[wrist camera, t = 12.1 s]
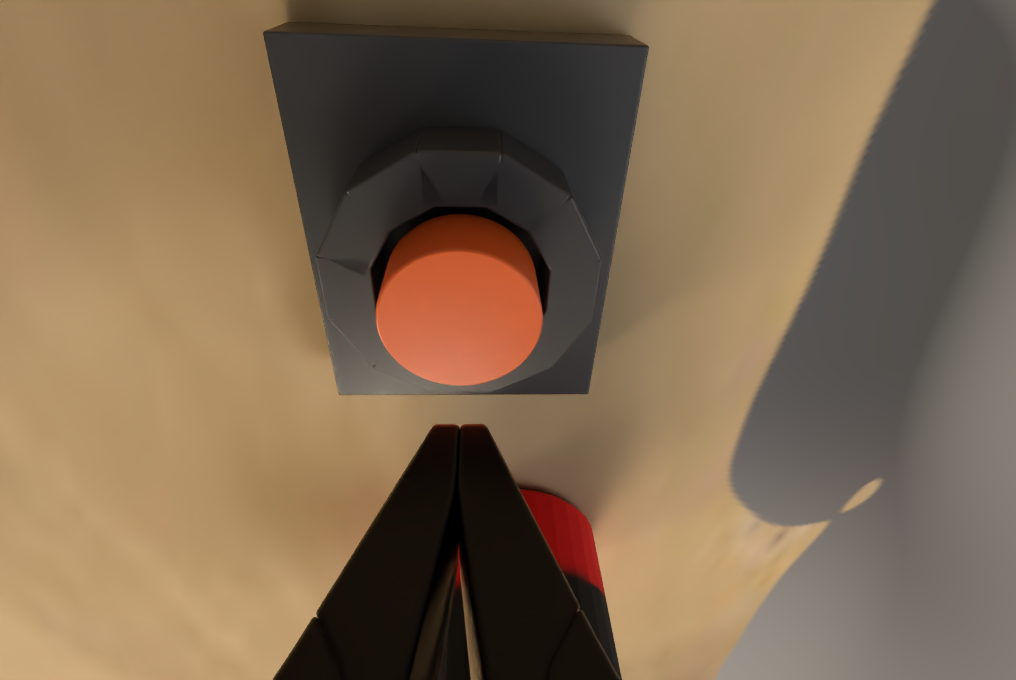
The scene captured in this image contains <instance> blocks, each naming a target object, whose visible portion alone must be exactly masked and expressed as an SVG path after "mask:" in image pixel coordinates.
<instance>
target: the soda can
mask: <svg viewBox="0 0 1016 680" xmlns="http://www.w3.org/2000/svg"><path fill="white" fill-rule="evenodd" d="M520 491H521V493H522V495H523V497H524V499H525V501H526V503H527V505H528V507H529V509H530V511H531V513H532V514H533V516H534V518H535V520H536V522H537V524H538V526H539V528H540V530H541V532H542V534H543V536H544V538H545V539H546V541H547V543H548V545H549V547H550V549H551V551H552V553H553V555H554V557H555V559H556V561H557V563H558V564H559V566H560V568H561V570H562V572H563V574H564V576H565V578H566V580H567V582H568V584H569V586H570V588H571V589H572V591H573V593H574V595H575V597H576V599H577V601H578V603H579V605H580V608H579V610H582V611H583V612H584V614H585V616H586V618H587V620H588V622H589V624H590V625H591V627H592V629H593V631H594V633H595V635H596V637H597V639H598V641H599V642H600V644H601V646H602V648H603V650H604V651H605V653H606V655H607V657H608V658H609V660H610V662H611V664H612V666H613V667H614V669H615V671H616V673H617V675H618V676H619V678H620V680H622V678H621V673H620V668H619V663H618V658H617V653H616V648H615V643H614V638H613V633H612V628H611V623H610V618H609V613H608V608H607V603H606V598H605V592H604V587H603V582H602V577H601V572H600V567H599V562H598V557H597V552H596V547H595V542H594V537H593V532H592V528H591V525H590V523H589V522H588V520H587V518H586V517H585V516H584V515H583V514H582V513H581V512H580V511H579V510H578V509H576V508H575V507H574V506H572V505H571V504H569V503H568V502H566V501H564V500H562V499H561V498H559V497H556V496H553V495H550V494H548V493H544V492H539V491H534V490H522V489H520ZM442 680H471V677H470V667H469V657H468V647H467V637H466V627H465V617H464V607H463V597H462V587H461V577H460V563H459V553H458V566H457V575H456V582H455V589H454V596H453V603H452V610H451V617H450V624H449V631H448V639H447V646H446V653H445V660H444V667H443V674H442Z"/></svg>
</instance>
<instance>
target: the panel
mask: <svg viewBox="0 0 1016 680" xmlns="http://www.w3.org/2000/svg"><path fill="white" fill-rule="evenodd" d="M263 35H264V40H265V44H266V49H267V54H268V59H269V64H270V68H271V73H272V78H273V83H274V87H275V92H276V97H277V102H278V107H279V111H280V116H281V121H282V126H283V130H284V135H285V140H286V145H287V149H288V154H289V159H290V164H291V169H292V173H293V178H294V183H295V188H296V192H297V197H298V202H299V207H300V212H301V216H302V221H303V226H304V231H305V235H306V240H307V245H308V250H309V255H310V259H311V264H312V269H313V274H314V278H315V283H316V288H317V293H318V298H319V302H320V307H321V312H322V317H323V321H324V326H325V331H326V336H327V340H328V345H329V350H330V355H331V360H332V364H333V369H334V374H335V379H336V383H337V388H338V393H339V395H472V394H588V391H589V386H590V380H591V374H592V369H593V363H594V357H595V351H596V346H597V340H598V334H599V329H600V323H601V317H602V312H603V306H604V300H605V294H606V289H607V283H608V277H609V272H610V266H611V260H612V255H613V249H614V243H615V238H616V232H617V226H618V220H619V215H620V209H621V203H622V198H623V192H624V186H625V181H626V175H627V169H628V164H629V158H630V152H631V146H632V141H633V135H634V129H635V124H636V118H637V112H638V107H639V101H640V95H641V89H642V84H643V78H644V72H645V67H646V61H647V55H648V50H649V47H648V46H647V45H646V44H644V43H642V42H640V41H639V40H637V39H635V38H633V37H631V36H630V35H609V34H584V33H558V32H532V31H506V30H480V29H455V28H429V27H403V26H377V25H351V24H326V23H300V22H287V23H284V24H282V25H279V26H277V27H274V28H271V29H269V30H266V31H264V32H263ZM449 214H468V215H475V216H480V217H484V218H487V219H490V220H492V221H494V222H496V223H498V224H501V225H502V226H504V227H505V228H507V229H508V230H510V231H511V232H512V233H513V234H514V235H516V236H517V237H518V238H519V239H520V241H521V242H522V243H523V244H524V246H525V247H526V249H527V250H528V252H529V254H530V256H531V258H532V260H533V263H534V267H535V271H536V277H537V282H538V288H539V294H540V299H541V305H542V312H543V324H542V330H541V334H540V337H539V340H538V342H537V344H536V346H535V348H534V349H533V351H532V352H531V354H530V355H529V356H528V357H527V359H526V360H525V361H524V362H523V363H522V364H521V365H519V366H518V367H517V368H516V369H514V370H513V371H511V372H510V373H508V374H506V375H504V376H502V377H500V378H498V379H495V380H492V381H490V382H486V383H482V384H476V385H466V386H457V385H446V384H440V383H436V382H432V381H429V380H427V379H424V378H421V377H419V376H417V375H415V374H413V373H412V372H410V371H408V370H407V369H405V368H404V367H403V366H402V365H400V364H399V363H398V362H397V361H396V360H395V359H394V358H393V357H392V356H391V355H390V353H389V352H388V351H387V349H386V348H385V346H384V344H383V342H382V341H381V338H380V336H379V333H378V330H377V325H376V316H375V311H376V303H377V300H378V296H379V292H380V289H381V285H382V282H383V278H384V275H385V271H386V268H387V264H388V261H389V258H390V255H391V253H392V251H393V249H394V248H395V246H396V245H397V243H398V242H399V241H400V239H401V238H402V237H403V236H404V235H405V234H406V233H407V232H409V231H410V230H411V229H412V228H414V227H415V226H417V225H419V224H420V223H422V222H425V221H427V220H429V219H432V218H435V217H439V216H444V215H449Z"/></svg>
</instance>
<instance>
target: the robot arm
mask: <svg viewBox="0 0 1016 680" xmlns="http://www.w3.org/2000/svg"><path fill="white" fill-rule="evenodd" d="M458 553H459V563H460V577H461V587H462V597H463V607H464V617H465V627H466V637H467V647H468V657H469V667H470V677H471V680H620V678H619V676H618V675H617V673H616V671H615V669H614V667H613V666H612V664H611V662H610V660H609V658H608V657H607V655H606V653H605V651H604V650H603V648H602V646H601V644H600V642H599V641H598V639H597V637H596V635H595V633H594V631H593V629H592V627H591V625H590V624H589V622H588V620H587V618H586V616H585V614H584V612H583V611H582V610H579V608H580V605H579V603H578V601H577V599H576V597H575V595H574V593H573V591H572V589H571V588H570V586H569V584H568V582H567V580H566V578H565V576H564V574H563V572H562V570H561V568H560V566H559V564H558V563H557V561H556V559H555V557H554V555H553V553H552V551H551V549H550V547H549V545H548V543H547V541H546V539H545V538H544V536H543V534H542V532H541V530H540V528H539V526H538V524H537V522H536V520H535V518H534V516H533V514H532V513H531V511H530V509H529V507H528V505H527V503H526V501H525V499H524V497H523V495H522V493H521V491H520V489H519V487H518V486H517V484H516V482H515V480H514V478H513V476H512V474H511V472H510V470H509V468H508V466H507V464H506V462H505V461H504V459H503V457H502V455H501V453H500V451H499V449H498V447H497V445H496V443H495V441H494V439H493V437H492V436H491V434H490V432H489V430H488V428H487V427H486V426H485V425H483V424H464V425H462V426H461V427H460V428H459V426H458V425H455V424H438V425H435V426H433V427H432V429H431V430H430V432H429V433H428V435H427V436H426V438H425V440H424V441H423V443H422V444H421V446H420V448H419V449H418V451H417V452H416V454H415V455H414V457H413V459H412V460H411V462H410V463H409V465H408V467H407V468H406V470H405V471H404V473H403V475H402V476H401V478H400V479H399V481H398V483H397V484H396V486H395V487H394V489H393V491H392V492H391V494H390V495H389V497H388V499H387V500H386V502H385V503H384V505H383V507H382V508H381V510H380V511H379V513H378V515H377V516H376V518H375V519H374V521H373V523H372V524H371V526H370V527H369V529H368V531H367V532H366V534H365V535H364V537H363V539H362V540H361V542H360V543H359V545H358V546H357V548H356V550H355V551H354V553H353V554H352V556H351V558H350V559H349V561H348V562H347V564H346V566H345V567H344V569H343V570H342V572H341V574H340V575H339V577H338V578H337V580H336V582H335V583H334V585H333V586H332V588H331V590H330V591H329V593H328V594H327V596H326V598H325V599H324V601H323V602H322V604H321V606H320V607H319V609H318V610H317V613H316V614H317V617H318V618H317V617H314V618H312V619H311V621H310V623H309V624H308V626H307V627H306V629H305V631H304V632H303V634H302V635H301V637H300V639H299V640H298V642H297V643H296V645H295V647H294V648H293V650H292V651H291V653H290V654H289V656H288V657H287V659H286V660H285V662H284V663H283V665H282V666H281V668H280V669H279V671H278V672H277V674H276V675H275V677H274V678H273V680H442V674H443V667H444V660H445V653H446V646H447V639H448V631H449V624H450V617H451V610H452V603H453V596H454V589H455V582H456V575H457V566H458Z"/></svg>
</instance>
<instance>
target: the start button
mask: <svg viewBox="0 0 1016 680" xmlns="http://www.w3.org/2000/svg"><path fill="white" fill-rule="evenodd" d="M375 316H376V325H377V330H378V333H379V336H380V338H381V341H382V342H383V344H384V346H385V348H386V349H387V351H388V352H389V353H390V355H391V356H392V357H393V358H394V359H395V360H396V361H397V362H398V363H399V364H400V365H402V366H403V367H404V368H405V369H407V370H408V371H410V372H412V373H413V374H415V375H417V376H419V377H421V378H424V379H427V380H429V381H432V382H436V383H440V384H446V385H457V386H466V385H476V384H482V383H486V382H490V381H492V380H495V379H498V378H500V377H502V376H504V375H506V374H508V373H510V372H511V371H513V370H514V369H516V368H517V367H518V366H519V365H521V364H522V363H523V362H524V361H525V360H526V359H527V357H528V356H529V355H530V354H531V352H532V351H533V349H534V348H535V346H536V344H537V342H538V340H539V337H540V334H541V330H542V324H543V312H542V305H541V299H540V294H539V288H538V282H537V277H536V271H535V267H534V263H533V260H532V258H531V256H530V254H529V252H528V250H527V249H526V247H525V246H524V244H523V243H522V242H521V241H520V239H519V238H518V237H517V236H516V235H514V234H513V233H512V232H511V231H510V230H508V229H507V228H505V227H504V226H502V225H501V224H498V223H496V222H494V221H492V220H490V219H487V218H484V217H480V216H475V215H468V214H449V215H444V216H439V217H435V218H432V219H429V220H427V221H425V222H422V223H420V224H419V225H417V226H415V227H414V228H412V229H411V230H410V231H409V232H407V233H406V234H405V235H404V236H403V237H402V238H401V239H400V241H399V242H398V243H397V245H396V246H395V248H394V249H393V251H392V253H391V255H390V258H389V261H388V264H387V268H386V271H385V275H384V278H383V282H382V285H381V289H380V292H379V296H378V300H377V303H376V311H375Z"/></svg>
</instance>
